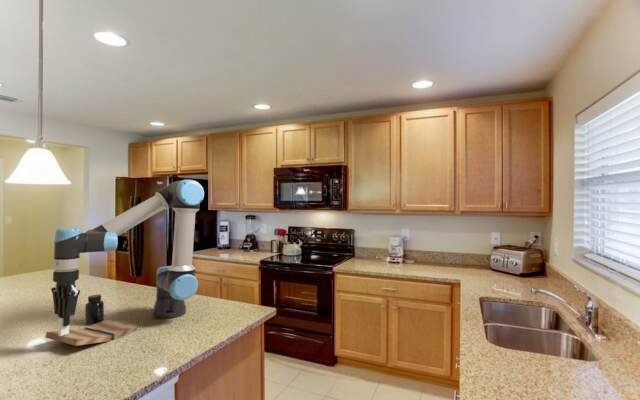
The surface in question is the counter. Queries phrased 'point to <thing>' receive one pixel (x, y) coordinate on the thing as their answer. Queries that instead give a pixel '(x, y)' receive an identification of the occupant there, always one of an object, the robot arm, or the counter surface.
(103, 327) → the walnut board
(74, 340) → the oak plank
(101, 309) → the supplement bottle
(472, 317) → the counter surface
